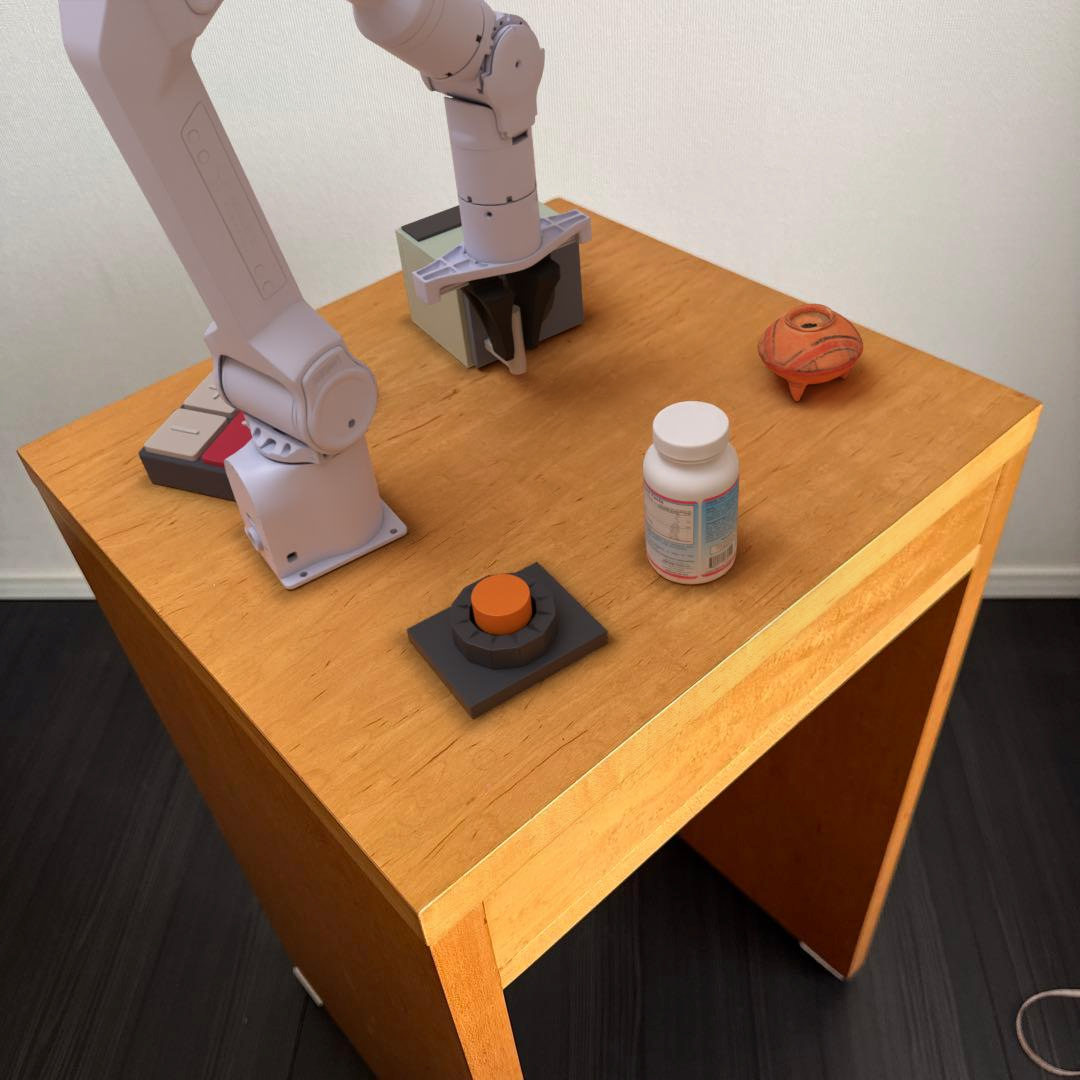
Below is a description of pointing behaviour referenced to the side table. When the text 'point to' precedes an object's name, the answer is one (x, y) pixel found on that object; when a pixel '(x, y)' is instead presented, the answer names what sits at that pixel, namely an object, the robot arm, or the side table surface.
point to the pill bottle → (691, 494)
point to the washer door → (557, 317)
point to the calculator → (197, 444)
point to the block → (506, 644)
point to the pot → (810, 346)
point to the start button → (501, 604)
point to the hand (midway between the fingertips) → (515, 349)
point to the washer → (448, 315)
